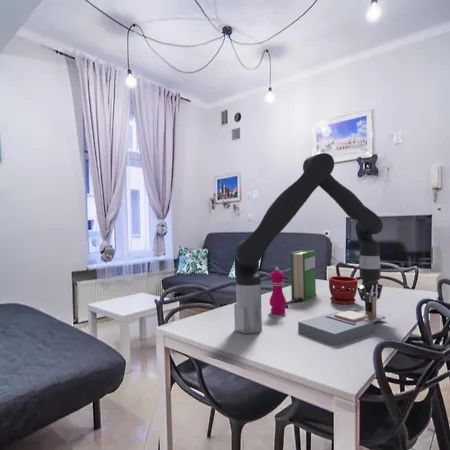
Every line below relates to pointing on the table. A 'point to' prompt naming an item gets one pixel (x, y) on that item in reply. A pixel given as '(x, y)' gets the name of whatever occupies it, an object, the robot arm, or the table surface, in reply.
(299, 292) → the hardback book
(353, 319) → the tile
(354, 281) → the plant pot
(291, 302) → the bracket
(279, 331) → the table surface
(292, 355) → the table surface
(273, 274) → the pepper mill
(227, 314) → the table surface
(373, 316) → the trowel
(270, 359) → the table surface
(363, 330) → the tile stand
